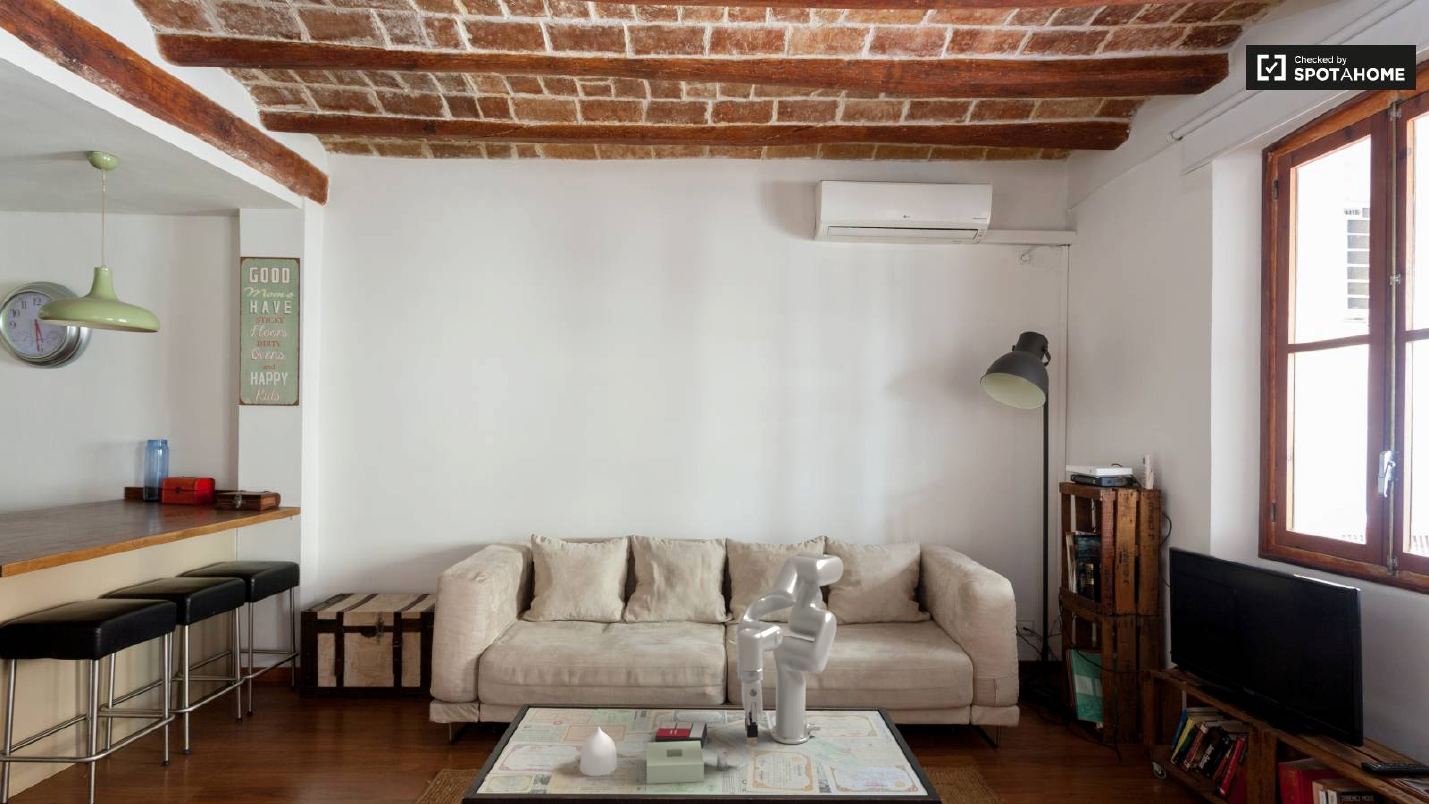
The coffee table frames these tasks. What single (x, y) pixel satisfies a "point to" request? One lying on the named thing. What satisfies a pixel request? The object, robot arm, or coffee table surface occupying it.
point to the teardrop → (598, 754)
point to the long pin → (750, 741)
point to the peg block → (674, 762)
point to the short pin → (722, 759)
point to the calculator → (682, 732)
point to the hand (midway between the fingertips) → (751, 733)
